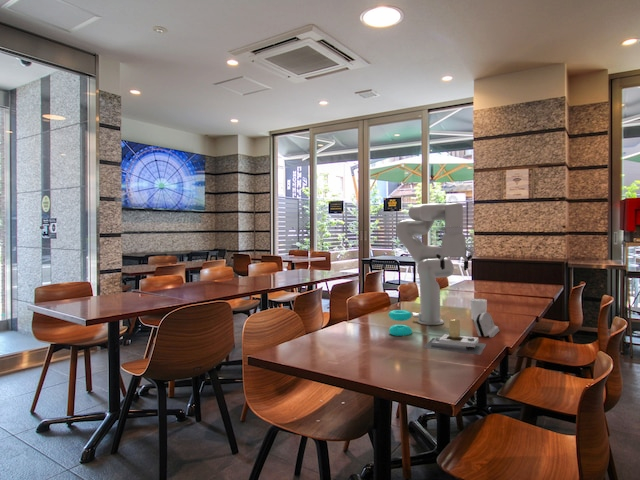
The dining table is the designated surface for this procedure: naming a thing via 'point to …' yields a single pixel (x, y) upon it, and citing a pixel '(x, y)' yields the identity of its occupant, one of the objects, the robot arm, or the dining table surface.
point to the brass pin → (454, 329)
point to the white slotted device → (485, 325)
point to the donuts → (400, 316)
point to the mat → (475, 350)
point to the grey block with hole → (455, 342)
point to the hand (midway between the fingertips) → (454, 269)
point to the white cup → (478, 307)
